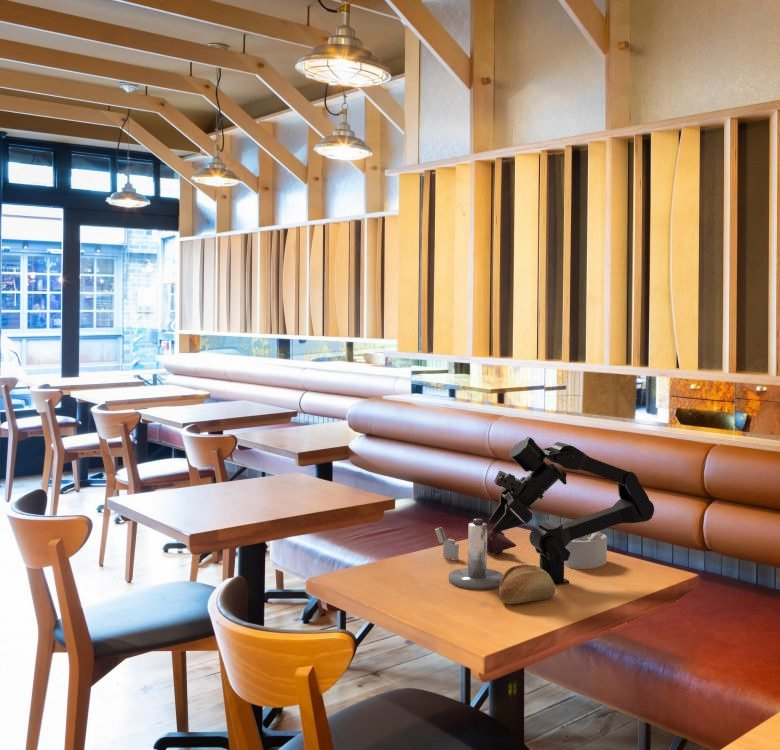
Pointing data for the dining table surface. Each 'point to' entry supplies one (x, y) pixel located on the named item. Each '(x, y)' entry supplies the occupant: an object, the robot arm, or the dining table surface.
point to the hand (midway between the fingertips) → (491, 527)
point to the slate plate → (463, 581)
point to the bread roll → (525, 584)
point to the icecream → (498, 542)
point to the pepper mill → (477, 549)
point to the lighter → (448, 545)
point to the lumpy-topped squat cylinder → (587, 551)
